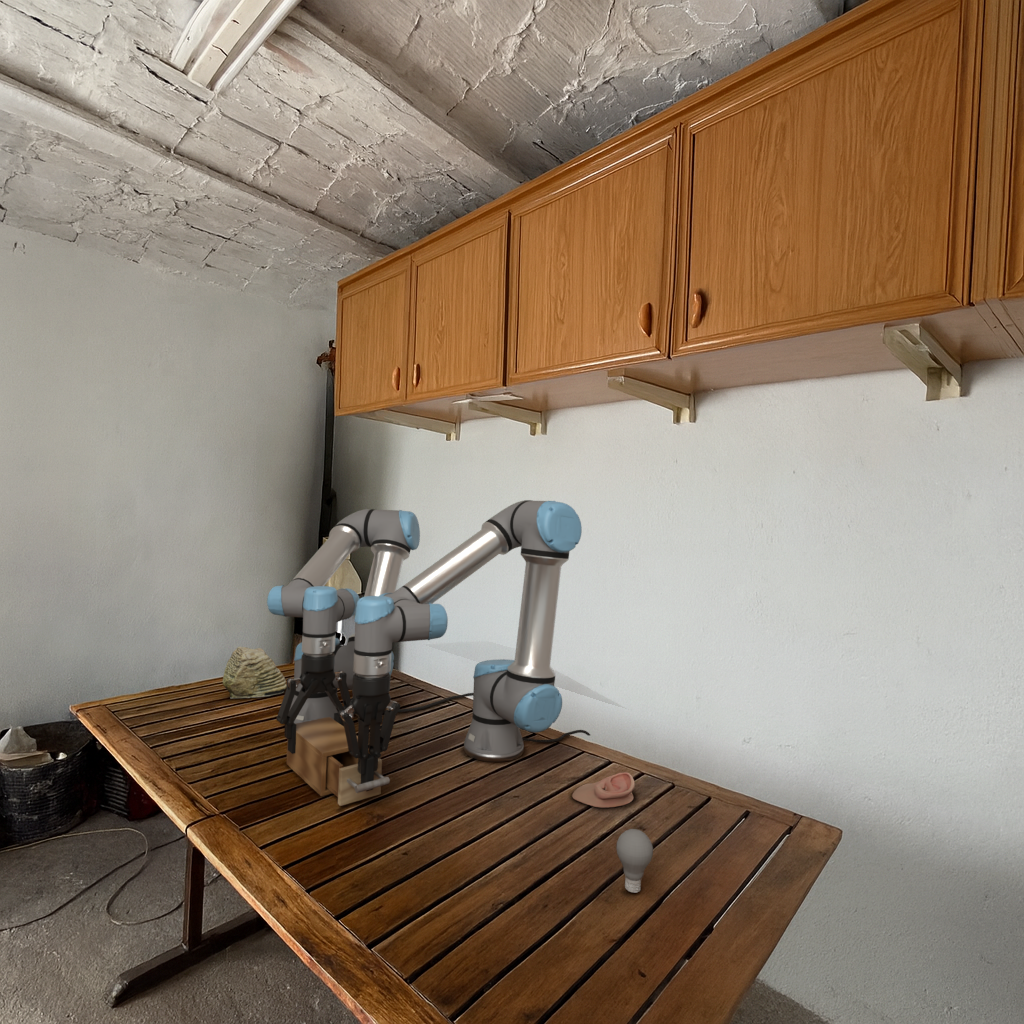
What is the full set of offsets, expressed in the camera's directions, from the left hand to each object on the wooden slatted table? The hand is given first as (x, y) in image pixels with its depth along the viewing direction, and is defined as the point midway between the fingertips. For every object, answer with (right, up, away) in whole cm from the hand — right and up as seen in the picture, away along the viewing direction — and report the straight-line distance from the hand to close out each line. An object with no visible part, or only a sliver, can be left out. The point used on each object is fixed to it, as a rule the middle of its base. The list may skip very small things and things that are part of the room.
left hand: (314, 746), depth 149 cm
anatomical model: (+67, -8, -10) cm, 68 cm away
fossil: (-34, -2, +49) cm, 60 cm away
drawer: (+11, -4, -13) cm, 18 cm away
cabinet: (+4, -5, -5) cm, 7 cm away
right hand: (+17, -1, -20) cm, 26 cm away
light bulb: (+67, -8, -44) cm, 80 cm away
